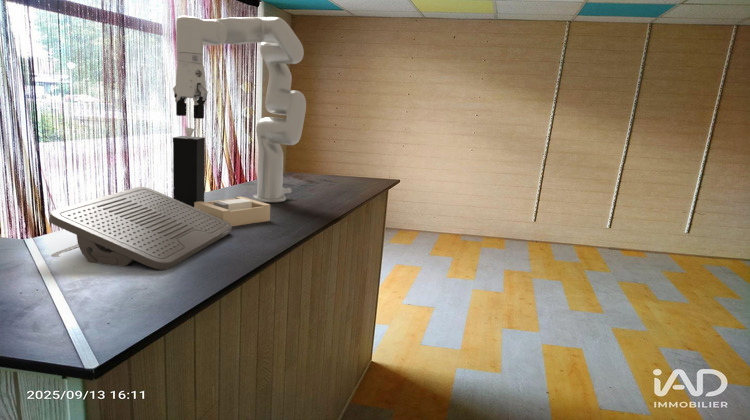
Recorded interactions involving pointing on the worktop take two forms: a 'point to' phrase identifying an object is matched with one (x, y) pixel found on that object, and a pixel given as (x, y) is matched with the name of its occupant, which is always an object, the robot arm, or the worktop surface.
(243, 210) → the carton
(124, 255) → the foot rest
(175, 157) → the tissue box
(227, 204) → the capped box
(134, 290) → the worktop surface
